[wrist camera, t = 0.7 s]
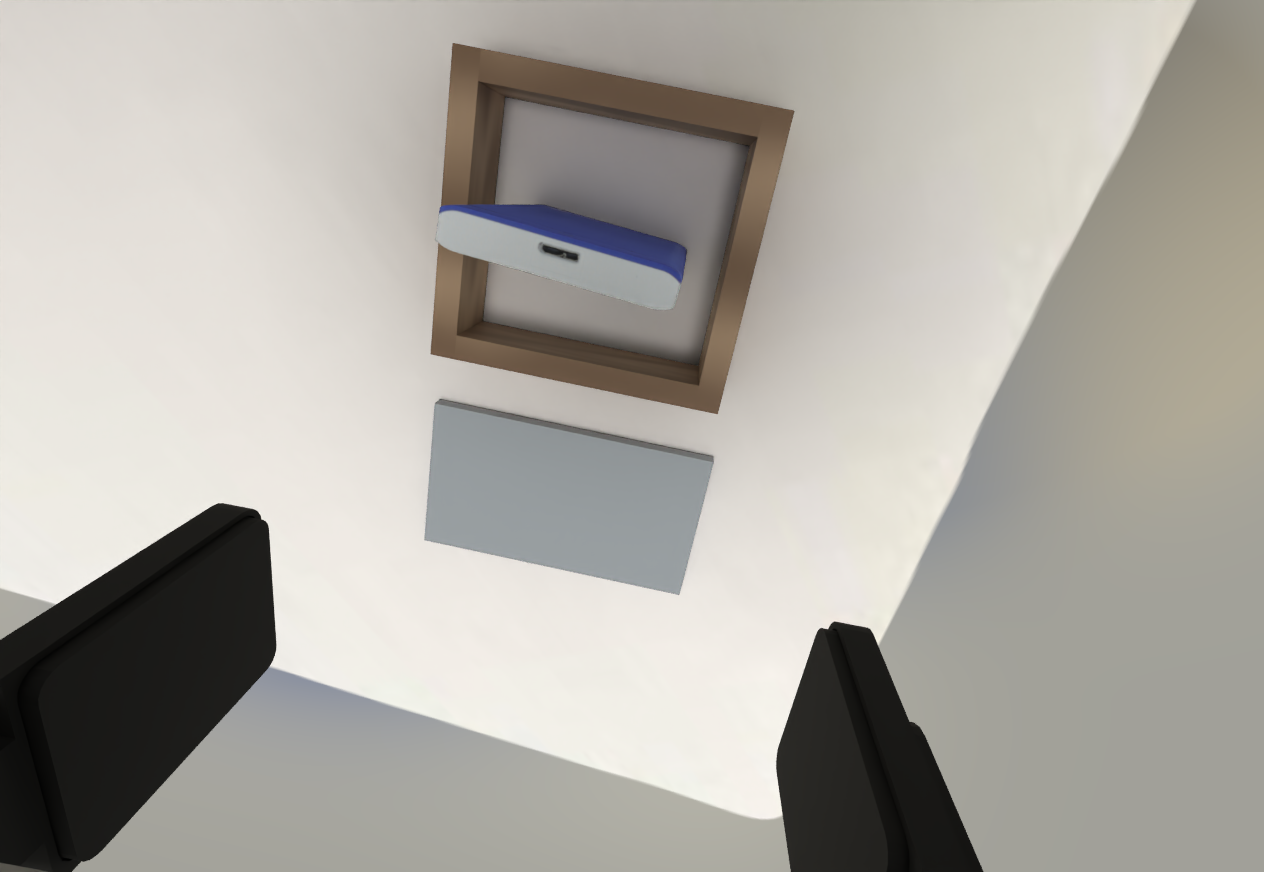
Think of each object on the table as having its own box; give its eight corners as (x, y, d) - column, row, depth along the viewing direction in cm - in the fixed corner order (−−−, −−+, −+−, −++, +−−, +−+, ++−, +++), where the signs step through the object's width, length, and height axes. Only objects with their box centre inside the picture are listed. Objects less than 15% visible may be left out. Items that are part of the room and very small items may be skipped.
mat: (440, 399, 35) (434, 403, 35) (713, 456, 35) (713, 462, 34) (429, 533, 39) (424, 540, 38) (679, 587, 38) (679, 594, 38)
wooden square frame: (483, 63, 29) (452, 42, 26) (781, 123, 29) (794, 110, 25) (459, 337, 34) (430, 354, 30) (714, 391, 34) (717, 414, 30)
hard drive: (533, 201, 31) (440, 197, 20) (688, 245, 31) (686, 268, 20) (527, 232, 32) (433, 247, 20) (679, 276, 32) (672, 315, 20)
